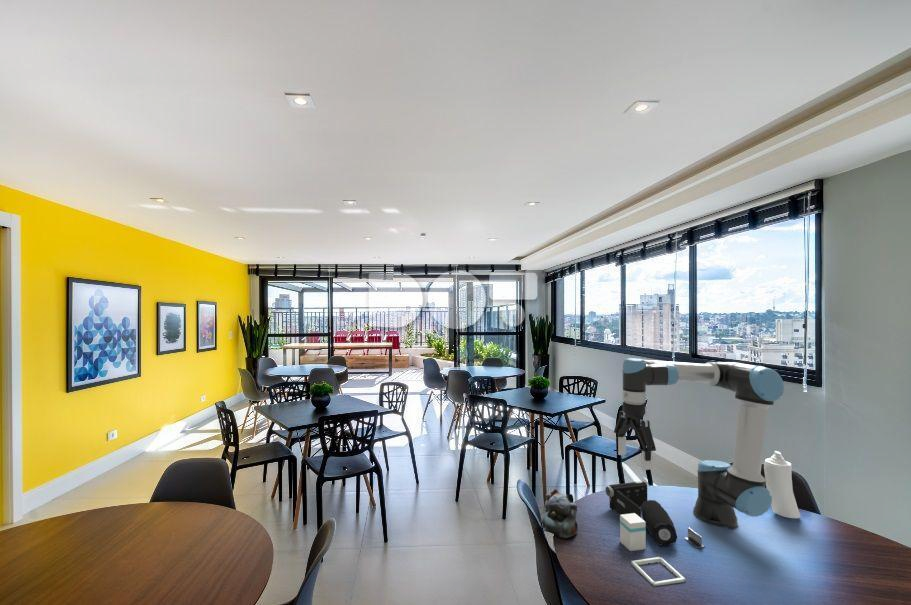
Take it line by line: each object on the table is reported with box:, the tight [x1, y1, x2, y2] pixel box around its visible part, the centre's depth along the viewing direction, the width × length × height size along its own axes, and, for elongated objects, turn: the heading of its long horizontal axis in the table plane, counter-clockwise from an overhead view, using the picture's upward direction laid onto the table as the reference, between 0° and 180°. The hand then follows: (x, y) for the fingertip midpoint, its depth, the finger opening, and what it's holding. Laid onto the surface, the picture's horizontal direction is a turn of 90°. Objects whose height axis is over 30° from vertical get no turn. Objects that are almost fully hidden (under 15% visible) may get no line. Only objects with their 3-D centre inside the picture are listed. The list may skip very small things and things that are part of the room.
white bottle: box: [763, 450, 802, 519], centre depth 167 cm, size 12×11×25 cm
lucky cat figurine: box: [540, 488, 579, 539], centre depth 155 cm, size 15×12×14 cm
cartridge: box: [619, 513, 647, 552], centre depth 144 cm, size 6×6×10 cm
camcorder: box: [604, 480, 648, 519], centre depth 165 cm, size 20×18×10 cm
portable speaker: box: [640, 499, 678, 547], centre depth 152 cm, size 9×9×20 cm
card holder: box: [684, 527, 706, 549], centre depth 146 cm, size 3×6×4 cm, turn 11°
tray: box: [630, 556, 686, 587], centre depth 129 cm, size 11×11×2 cm
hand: (633, 461), depth 144 cm, fingers open, 13 cm apart
